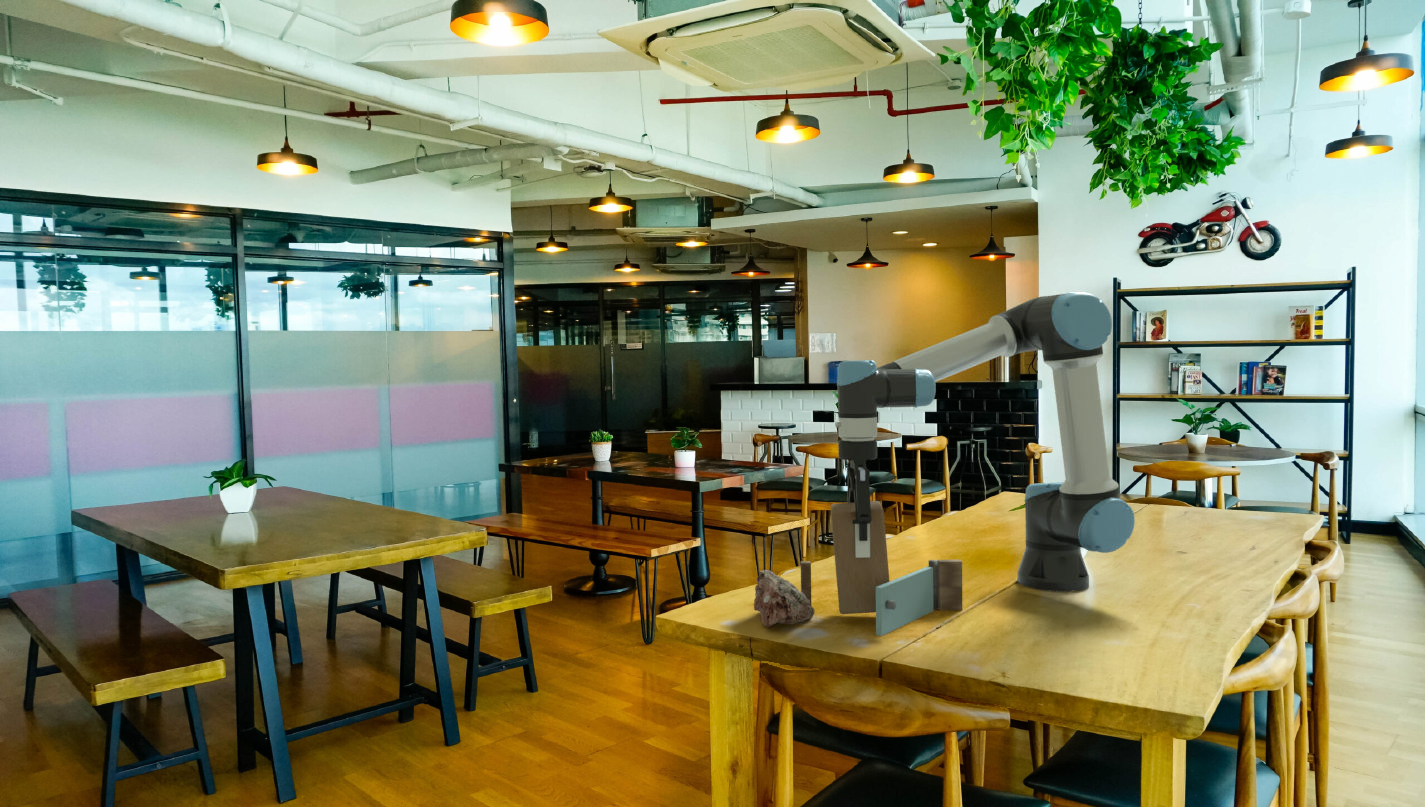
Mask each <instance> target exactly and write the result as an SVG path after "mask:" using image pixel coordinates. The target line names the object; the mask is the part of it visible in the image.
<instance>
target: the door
mask: <svg viewBox="0 0 1425 807" xmlns="http://www.w3.org/2000/svg"><path fill="white" fill-rule="evenodd" d="M889 581H890V582H887V583H885V584H882V585H880V586H877V587H876V612H875V635H876V636H880V637H882V636H885V635H887V634H889V633H891V632H893V631H895V630H897V629H899V628H901V627H903V626H905V625H907V624H910V623H912V622H913V621H914V622H915V621H916V620H918V619H919V618H922V617H924V616H926V615H928V614H930V613H932V612H934V610H933V567H929V565H928V566H925V567H922V568H921V569H920V568H919V569H918V570H916V571H913V572H910V573H907V574H905V575H903V576H900V577H897V578H894V579H893V580H889Z"/></svg>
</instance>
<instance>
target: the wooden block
mask: <svg viewBox="0 0 1425 807" xmlns="http://www.w3.org/2000/svg"><path fill="white" fill-rule="evenodd" d="M870 507H871V517H872V520H871V522H870V557H864V558H856V557H855V524H853V523H852V521H853V520H856V512H855V502H854V503H847V502H845V503H844V502H843V503H841V502H840V503H832V504H831V505H830V518H831V529H832V540H833V550H834V551H833V553H834V565H835V575H836V576H835V577H836V587H837V599H838V611H839V613H840V614H841V615H851V614H867V613H868V614H869V613H876V587H877V586H880V585H882V584H885V583H887V582H890V581H891V580H890V573H889V572H890V571H889V559H888V548H887V547H888V546H887V536H886V535H887V534H886V523H885V512H884V508H883V506H882V503H881V501H879V500H872V501H871V500H870ZM861 516H865V515H861Z"/></svg>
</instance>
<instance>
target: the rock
mask: <svg viewBox="0 0 1425 807" xmlns="http://www.w3.org/2000/svg"><path fill="white" fill-rule="evenodd" d="M758 573H759V575H758V576H756V578H755V579H756V580H755V581H756V583H757V584H756V585H755V587H754V591H755V593H754V595H755V598H754V600H753V601H754V603H753V610H754V611H756V612H757V611H758V613H760V619H761V620H760V621H761V622H762V624H764V625H763V626H765V627H767V628H770V627H771V626H773V625H776V624H777V623H778V624H782V625H783V624H784V625H785V624H786V625H788V624H789V625H795V624H798V623H800V622H805V621H806V620H808V619H812V618H813V617H814V615H815V609H814V607H813V606H812V604H811V605H810V600H808V599H807V598H806V597H805V595H804V593H802V592H801V589H800V590H799V588H798V587H797V586H796V585H794V583H792V582H790V581H789V580H788V579H784V578H783V577H781V576H779V575H777V574H776V573H775V572H773V571H771V570H770V569H764V570H760V571H759V572H758ZM807 618H808V619H807Z"/></svg>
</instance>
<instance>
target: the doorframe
mask: <svg viewBox="0 0 1425 807" xmlns="http://www.w3.org/2000/svg"><path fill="white" fill-rule="evenodd" d="M811 562H812V561H810V560H806V561H805V560H801V561H800V591H801V592H802V593H804V595H805V597H806V598H807V599H808V600H810V605H811V606H812V563H811ZM928 567H933V611H938V610H939V611H963V560H961V559H929V560H928Z"/></svg>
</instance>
